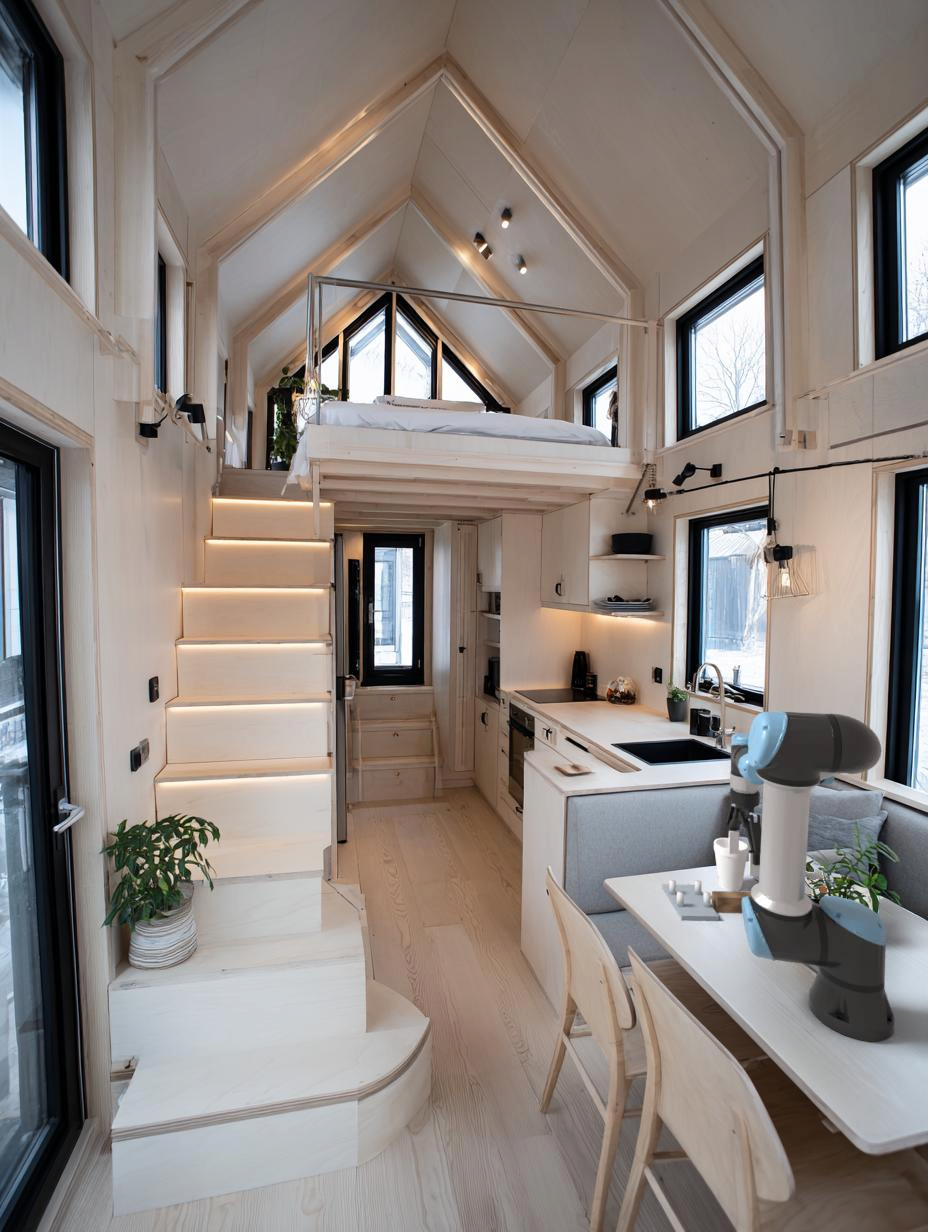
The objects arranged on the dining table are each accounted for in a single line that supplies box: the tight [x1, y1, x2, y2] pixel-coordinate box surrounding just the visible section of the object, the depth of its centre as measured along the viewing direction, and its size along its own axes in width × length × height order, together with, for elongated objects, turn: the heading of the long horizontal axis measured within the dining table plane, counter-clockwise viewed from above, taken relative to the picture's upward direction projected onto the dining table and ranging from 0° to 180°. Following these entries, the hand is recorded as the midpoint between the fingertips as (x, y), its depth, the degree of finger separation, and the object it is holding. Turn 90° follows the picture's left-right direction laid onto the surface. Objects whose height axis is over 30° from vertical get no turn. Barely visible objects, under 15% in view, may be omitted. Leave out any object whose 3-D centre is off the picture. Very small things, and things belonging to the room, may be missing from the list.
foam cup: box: [713, 837, 749, 892], centre depth 184 cm, size 10×9×13 cm
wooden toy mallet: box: [711, 890, 751, 914], centre depth 171 cm, size 18×6×4 cm, turn 88°
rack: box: [661, 879, 720, 922], centre depth 174 cm, size 18×10×5 cm, turn 178°
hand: (743, 864), depth 171 cm, fingers open, 13 cm apart
